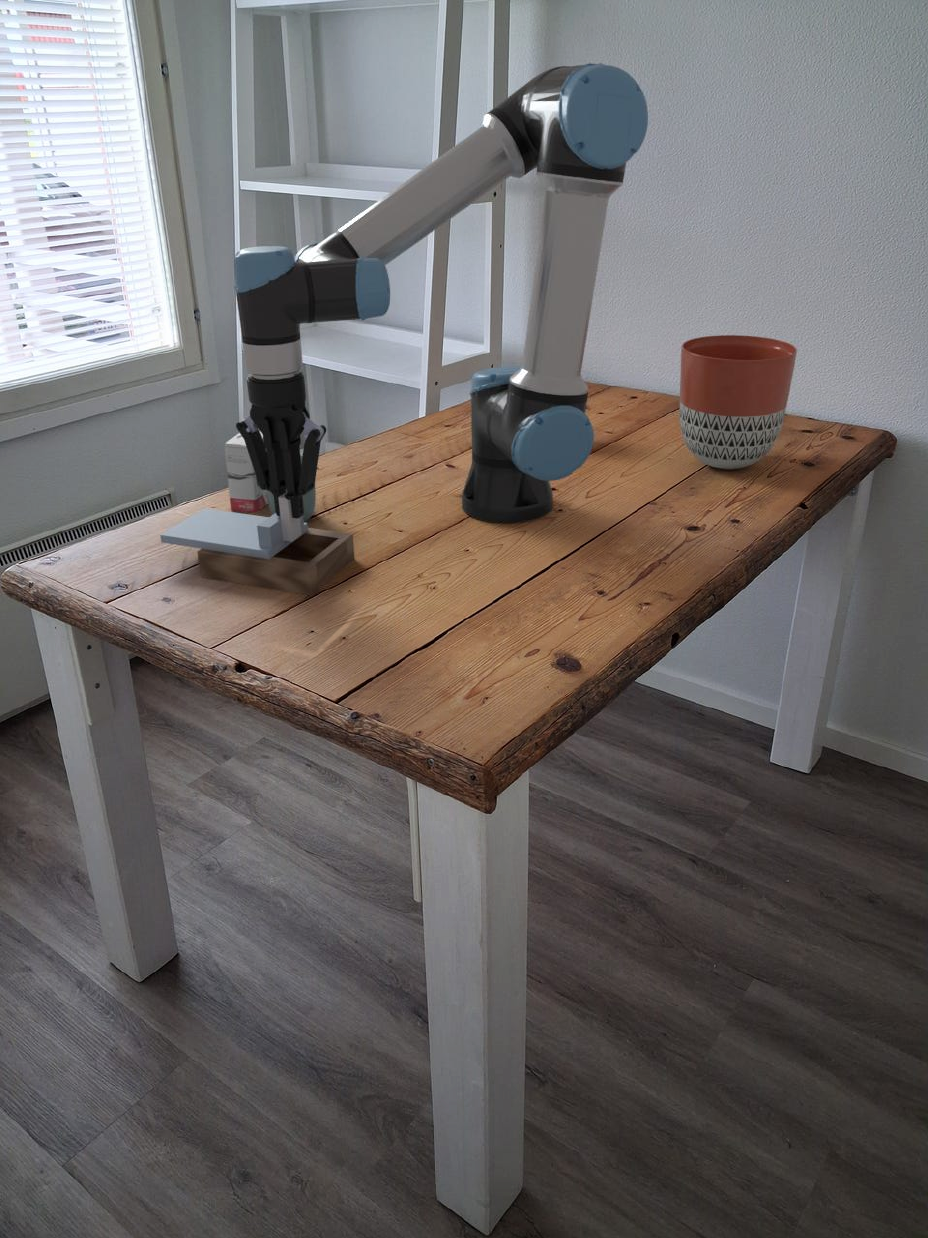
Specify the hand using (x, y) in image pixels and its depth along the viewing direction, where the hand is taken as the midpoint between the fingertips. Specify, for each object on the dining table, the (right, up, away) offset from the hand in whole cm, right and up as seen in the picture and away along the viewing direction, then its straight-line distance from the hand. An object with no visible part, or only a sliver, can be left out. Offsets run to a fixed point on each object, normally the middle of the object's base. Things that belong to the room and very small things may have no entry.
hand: (292, 537), depth 143 cm
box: (-3, -5, +4) cm, 6 cm away
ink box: (-11, +8, +28) cm, 31 cm away
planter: (+73, +17, +42) cm, 85 cm away
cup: (-3, +4, +21) cm, 22 cm away
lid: (-9, 0, +4) cm, 10 cm away
